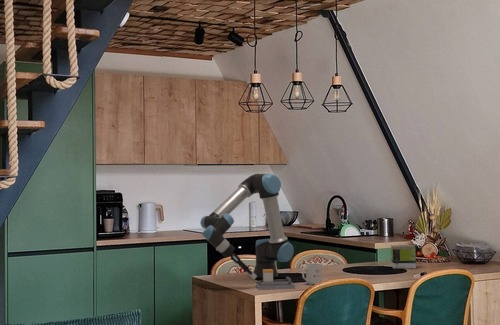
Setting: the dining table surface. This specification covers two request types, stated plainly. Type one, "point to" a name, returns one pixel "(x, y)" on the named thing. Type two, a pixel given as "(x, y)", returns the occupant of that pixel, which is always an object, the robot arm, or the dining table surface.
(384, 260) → the dining table surface
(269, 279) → the grey orange-topped container
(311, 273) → the mug
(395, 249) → the tea box
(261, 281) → the grey tray
